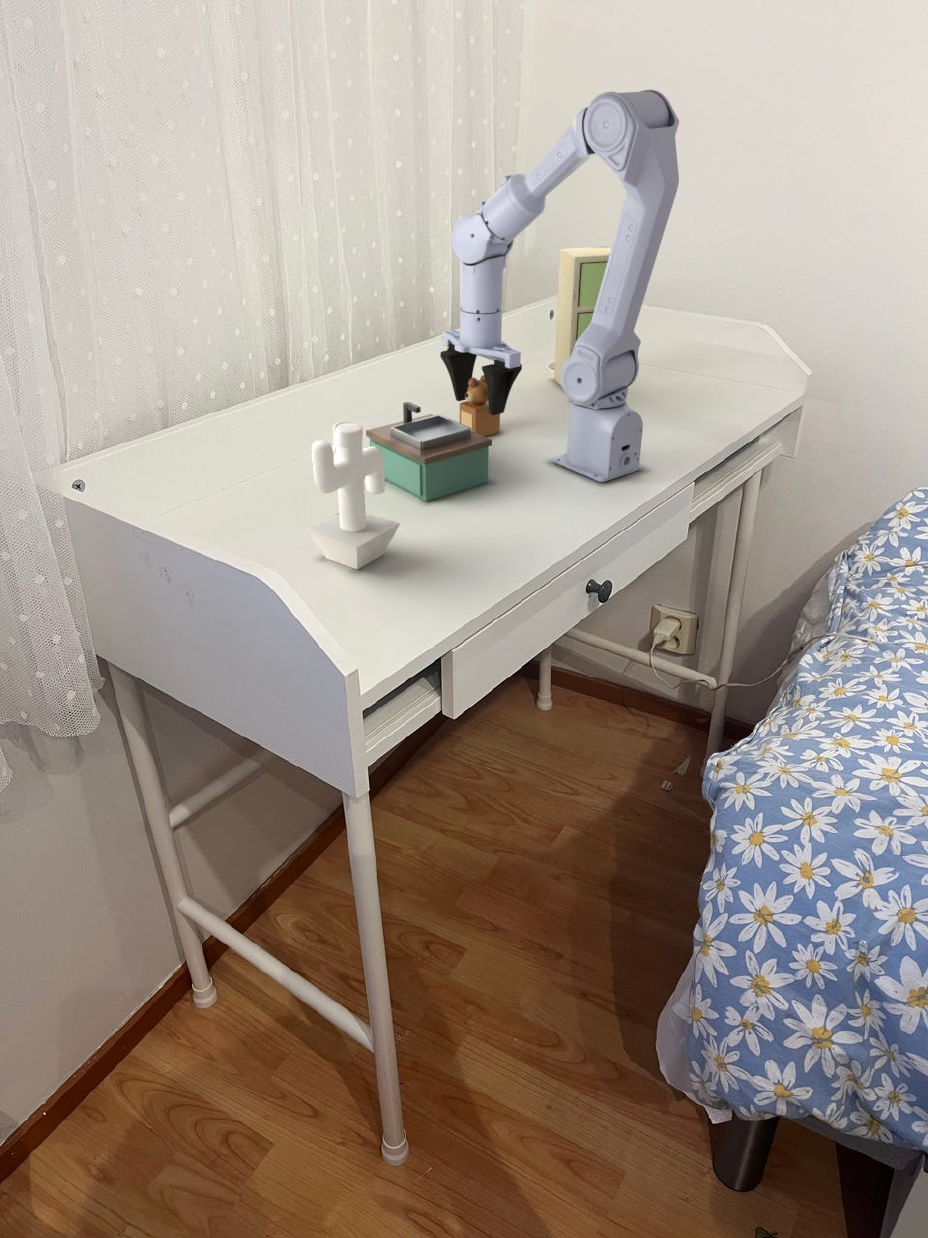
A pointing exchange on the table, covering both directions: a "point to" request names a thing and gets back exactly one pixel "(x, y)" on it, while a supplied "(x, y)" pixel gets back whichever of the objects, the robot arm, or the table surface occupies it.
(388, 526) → the figurine
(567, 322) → the toy refrigerator
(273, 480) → the table surface
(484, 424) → the toy bear
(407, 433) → the toy sink
